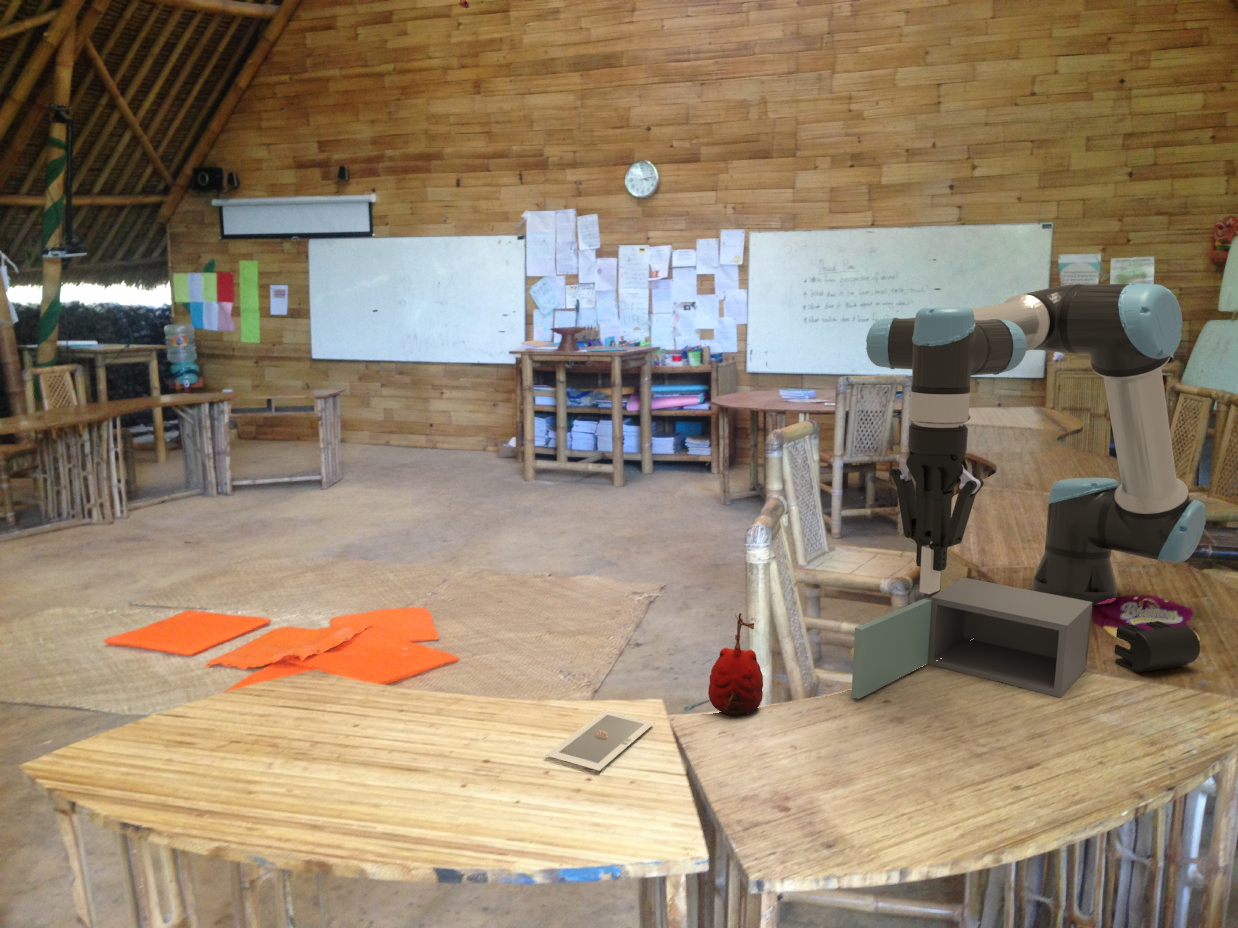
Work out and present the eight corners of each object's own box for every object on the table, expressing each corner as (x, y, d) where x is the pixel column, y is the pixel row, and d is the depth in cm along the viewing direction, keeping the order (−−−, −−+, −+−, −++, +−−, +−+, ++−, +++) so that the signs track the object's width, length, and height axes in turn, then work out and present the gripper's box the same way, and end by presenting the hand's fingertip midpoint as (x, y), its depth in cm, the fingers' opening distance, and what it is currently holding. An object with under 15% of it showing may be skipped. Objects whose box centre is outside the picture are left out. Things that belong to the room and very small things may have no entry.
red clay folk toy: (761, 700, 134) (765, 600, 132) (763, 721, 127) (766, 616, 125) (708, 697, 135) (710, 597, 132) (707, 718, 128) (709, 614, 126)
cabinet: (958, 639, 159) (963, 577, 157) (1086, 669, 146) (1092, 601, 144) (926, 663, 148) (930, 596, 146) (1060, 697, 135) (1067, 625, 133)
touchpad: (545, 763, 116) (545, 746, 116) (604, 717, 129) (604, 702, 129) (599, 778, 113) (599, 762, 112) (655, 729, 126) (655, 714, 125)
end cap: (1147, 680, 142) (1152, 637, 141) (1110, 663, 149) (1115, 622, 148) (1198, 672, 145) (1203, 631, 144) (1160, 656, 152) (1164, 616, 151)
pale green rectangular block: (929, 662, 147) (933, 599, 145) (858, 698, 133) (862, 629, 132) (914, 657, 149) (918, 595, 147) (843, 693, 135) (846, 624, 133)
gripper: (998, 425, 123) (987, 596, 127) (911, 416, 133) (904, 575, 137) (968, 431, 118) (958, 608, 122) (880, 421, 128) (873, 585, 132)
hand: (929, 590), depth 130 cm, fingers closed
